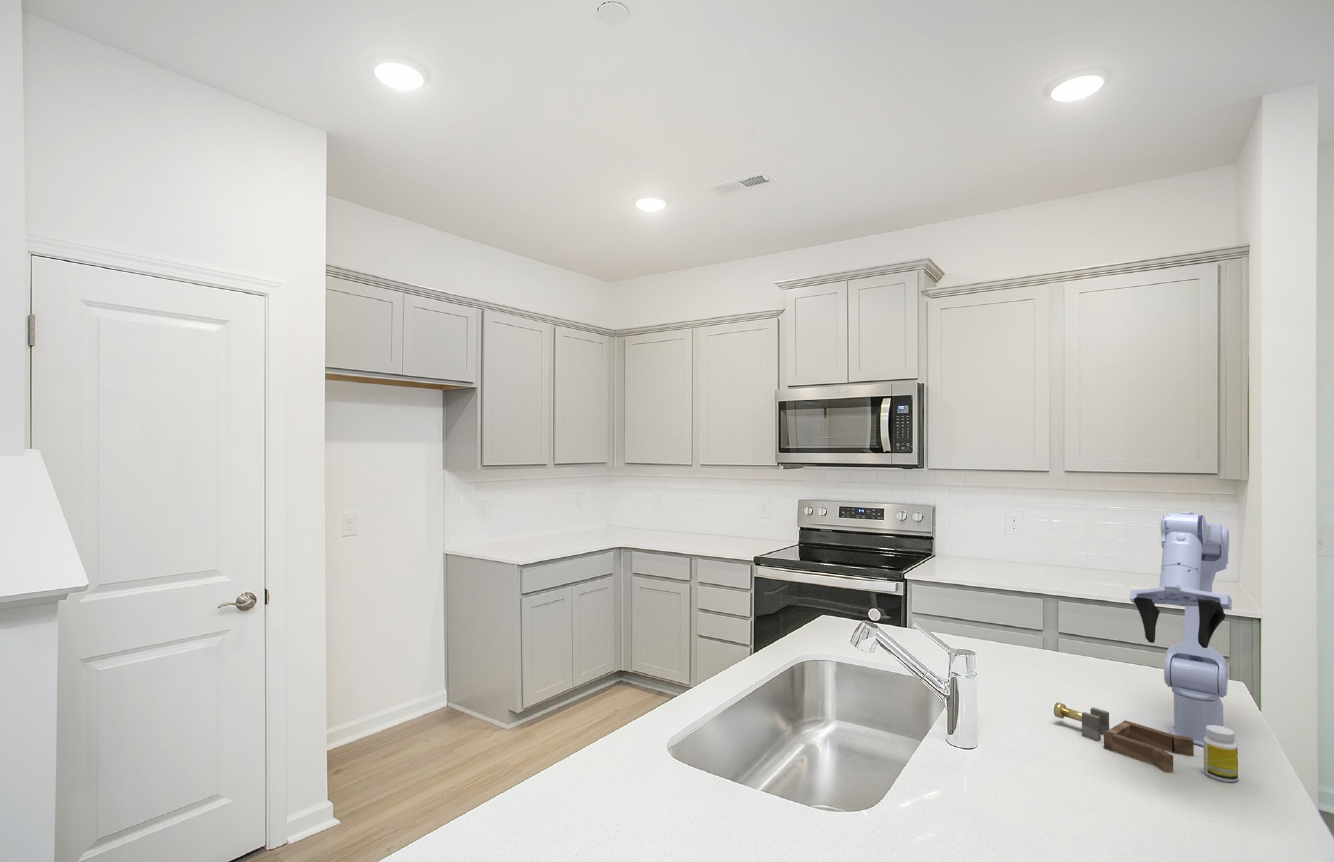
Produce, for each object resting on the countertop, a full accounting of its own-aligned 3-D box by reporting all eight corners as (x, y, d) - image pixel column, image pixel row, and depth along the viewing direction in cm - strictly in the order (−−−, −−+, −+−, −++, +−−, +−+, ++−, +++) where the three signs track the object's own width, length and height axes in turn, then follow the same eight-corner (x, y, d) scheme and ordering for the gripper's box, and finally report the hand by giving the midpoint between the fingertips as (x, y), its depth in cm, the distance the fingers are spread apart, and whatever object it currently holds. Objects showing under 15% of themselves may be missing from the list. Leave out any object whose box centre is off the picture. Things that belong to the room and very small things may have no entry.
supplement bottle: (1244, 784, 117) (1243, 736, 117) (1214, 781, 118) (1213, 734, 118) (1227, 771, 122) (1226, 724, 122) (1198, 768, 123) (1197, 722, 123)
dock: (1101, 724, 142) (1101, 703, 142) (1196, 754, 128) (1195, 730, 128) (1073, 741, 134) (1072, 718, 134) (1170, 774, 121) (1170, 748, 121)
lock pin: (1060, 714, 144) (1060, 701, 144) (1097, 726, 138) (1097, 712, 138) (1053, 718, 142) (1053, 704, 142) (1090, 730, 136) (1090, 715, 136)
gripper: (1126, 560, 125) (1118, 628, 119) (1222, 562, 114) (1220, 636, 108) (1141, 579, 128) (1134, 645, 122) (1236, 582, 117) (1234, 656, 111)
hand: (1175, 642), depth 115 cm, fingers open, 7 cm apart
